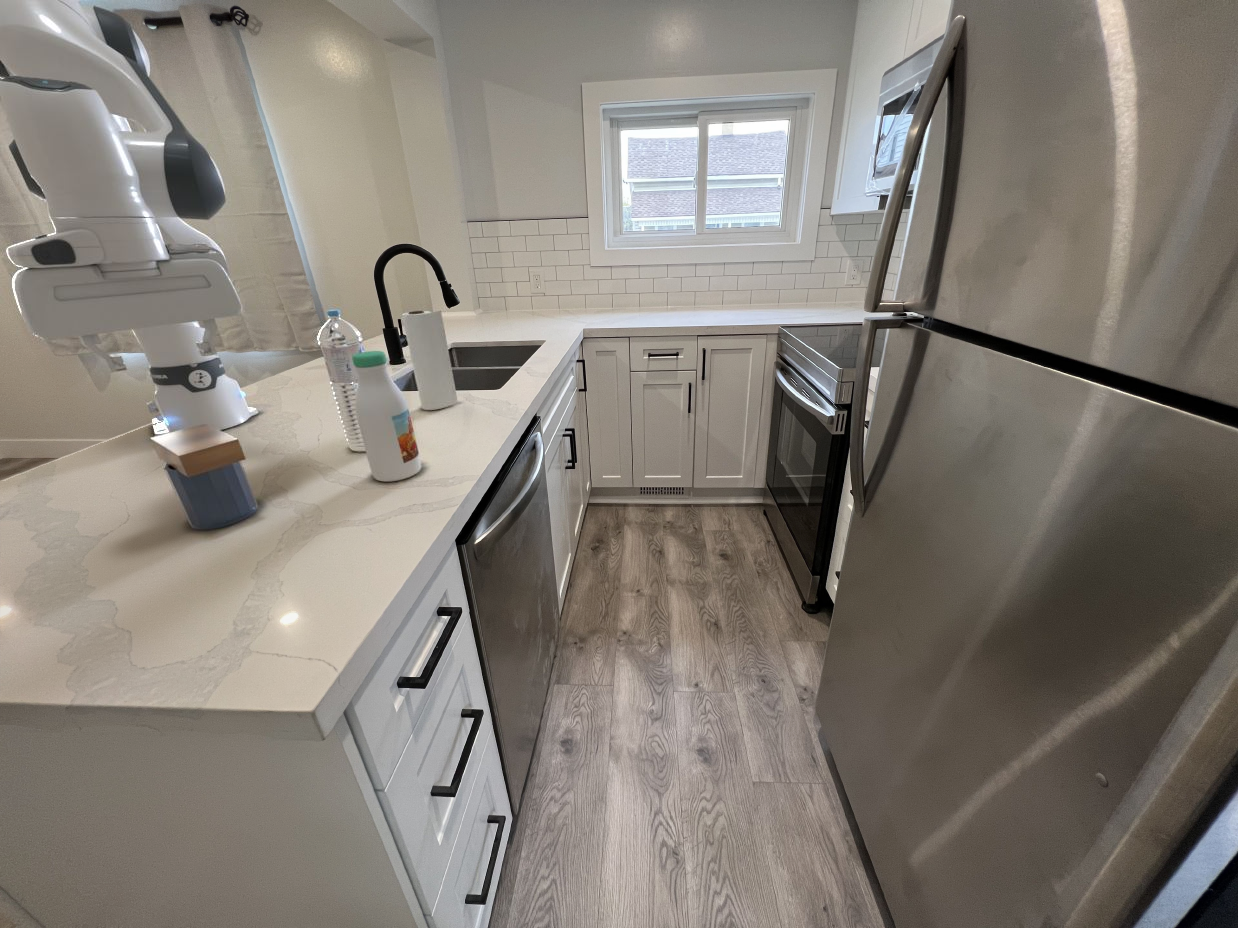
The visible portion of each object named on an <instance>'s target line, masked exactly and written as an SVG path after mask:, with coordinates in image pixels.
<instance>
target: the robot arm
mask: <svg viewBox="0 0 1238 928" xmlns="http://www.w3.org/2000/svg"><path fill="white" fill-rule="evenodd" d="M150 74H151V63H150V58H149V55H148V52H147V49H146V48H145V45H144V44H143V42H142V40H141V39H140V37H139V36H138V34H137V33H136V32H135V31H134V29H133V27H132V26H131V24H130V23H129V22H128V21H127V20H126V19H125V18H124V17H123V16H122V15H120V14H118V13H116V12H114V11H111V10H109V9H106V8H102V7H99V6H97V5H93V7H92V6H91V7H90V6H87V5H83V4H80V2H79V1H78V0H0V100H1V104H2V106H3V110H4V113H5V117H6V120H7V123H8V125H9V126H8V127H9V128H10V131H11V134H12V137H13V140H12V141H11V143H10V144H9V145H8V149H9V152H10V153H11V155H12V157H13V159H14V162H15V163H16V165H17V168H18V170H19V172H20V174H21V176H22V178H23V181H24V183H25V185H26V187H27V189H28V191H29V192H30V194H32V196H34V197H36V198H38V199H39V200H42V201H44V202H45V203H46V204H47V213H48V214H47V215H48V216H49V219H50V221H51V222H52V225H53V228H54V232H53V233H50V234H40V235H37V236H34V237H33V239H29V240H25V241H22V242H19V243H16V244H12V245H10V246H8V247H7V248H6V254H7V257H8V259H9V260H10V261H11V263H12V264H13V265H14V266H16V267H19V268H21V269H19V270H18V271H16V272H15V274H14V275H13V277H12V281H11V286H12V291H13V294H14V298H15V301H16V304H17V306H18V310H19V312H20V315H21V317H22V319H23V322H24V324H25V325H26V328H27V330H28V331H29V332H30V333H31V334H32V335H33V336H35V337H37V338H40V339H42V340H45V341H46V340H47V341H54V340H62V339H70V338H78V340H79V341H80V343H81V345H83V346H84V347H86V348H87V349H89V350H90V351H91V352H93V353H94V354H95V355H97V356H98V357H100V358H101V359H102V360H103V363H104V365H105V367H106V369H107V370H108V372H109V373H117V372H123V371H128V369H127V366H126V364H124V359H123V357H122V356H121V355H120V354H109V353H107V352H106V351H105V350H103V349H102V348H100V347H99V346H98V345H101V344H102V341H101V339H100V336H99V335H100V334H108V333H116V332H125V331H132V333H133V335H134V336H135V338H136V339H137V342H138V344H139V345H140V347H141V349H142V351H143V354H144V355H145V358H146V360H147V362H148V364H149V366H148V371H149V375H150V378H151V379H152V382H153V383H154V384H155V390H154V396H153V400H151V401H149V402H147V403H146V406H147V408H148V410H149V412H150V413H149V414H156V413H159V414H156V415H155V416H156V417H155V418H152V420H151V424H152V427H153V431H154V436H155V437H156V436H159V435H163V434H167V433H171V432H175V431H179V430H183V429H187V428H191V427H195V426H199V425H203V424H207V425H209V426H211V427H213V428H215V429H218V430H220V431H223V430H226V429H229V428H233V427H235V426H238V425H240V424H242V423H244V422H246V421H248V420H249V419H250V418H251V417H253V416H255V415H257V414H259V411H258V409H257V408H256V407H249V405H248V403H247V401H246V399H245V397H246V393H245V392H244V391H242V390H241V387H240V385H239V383H238V381H237V380H235V379H234V378H231V377H229V376H228V375H226V374H225V373H226V369H225V367H224V363H223V361H222V360H221V358H220V356H218V352H217V349H216V346H215V344H214V342H215V338H216V335H217V333H218V329H219V327H218V324H217V321H216V320H217V319H224V318H234V317H239V316H240V315H241V313H242V310H243V304H242V301H241V299H240V297H239V294H238V292H237V290H236V288H235V286H234V284H233V282H232V280H231V279H230V277H229V275H230V267H229V264H228V263H227V262H228V261H227V259H226V257H225V254H224V252H223V251H222V249H221V247H220V246H219V245H218V244H217V243H216V242H215V241H214V240H213V238H211V237H209V236H208V235H206V234H204V233H202V232H201V231H199V230H197V229H195V228H194V227H193V226H191V225H190V224H188V223H186V222H185V221H184V220H185V219H186V220H187V219H188V220H202V221H209V220H211V219H212V218H213V217H214V216H215V215H217V214H218V213H219V212H220V210H221V209H222V208H223V207H224V205H225V204H226V202H227V199H226V189H225V184H224V180H223V176H222V174H221V172H220V169H219V168H218V166H217V164H216V163H215V161H214V160H213V158H212V157H211V155H210V154H209V152H208V151H207V149H206V148H205V147H204V146H203V144H202V143H200V142H199V141H198V140H197V139H196V138H195V137H194V136H193V135H192V134H191V132H190V131H189V130H188V129H187V127H186V125H185V124H184V122H182V120H181V119H180V117H179V116H178V114H177V113H176V112H175V110H174V109H173V108H172V106H171V105H170V103H169V102H168V100H167V99H166V98H165V97H164V95H163V93H162V92H161V91H160V90H159V88H158V87H157V86H156V84H155V83H154V82H153V80H152V79H151V78H150ZM127 119H128V120H130V121H131V122H134V123H136V124H138V125H140V126H141V128H142V129H143V130H144V131H133V130H132V129H131V127H130V124H129V122H128V120H127ZM182 219H184V220H182ZM161 421H163V422H161ZM158 422H161V423H158ZM155 423H157V424H156V425H153V424H155Z"/></svg>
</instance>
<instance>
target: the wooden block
mask: <svg viewBox="0 0 1238 928" xmlns="http://www.w3.org/2000/svg"><path fill="white" fill-rule="evenodd" d="M149 440H150V442H151V444H152V446H153V449H154V451H155V453H156V455H157V458H158V459H160V460H161V461H163V462H164V463H165V464H169V465H170V466H172V467H173V468H175V469H176V470H178V471H179V472H181V473H182V474H184V475H185V476H187V477H191V476H194V475H198V474H201V473H204V472H207V471H210V470H214V469H217V468H220V467H223V466H226V465H230V464H233V463H236V462H239V461H241V462H242V461H246V460H247V457H246V456H245V452H244V451H243V448H242V445H241V443H240V441H239V440H240V439H238V438H237V437H234V436H233V435H230V434H229V433H226V432H224V431H223V430H218V429H215V428H213V427H211V426H209V425H207V424H203V425H199V426H195V427H191V428H187V429H183V430H179V431H175V432H171V433H167V434H163V435H159V436H156V435H155V436H151V437H149Z"/></svg>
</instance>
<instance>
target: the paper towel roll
mask: <svg viewBox="0 0 1238 928" xmlns="http://www.w3.org/2000/svg"><path fill="white" fill-rule="evenodd" d="M401 318H402V322H403V327H404V332H405V336H406V342H407V346H408V351H409V355H410V360H411V364H412V370H413V374H414V377H415V384H416V388H417V392H418V396H419V401H420V405H421V409H422V410H424V411H425V410H426V411H435V410H441V409H444V408H447V407H451V405H453V404H457V403H458V402H459V400H458V396H457V391H456V385H455V379H454V373H453V368H452V363H451V357H450V351H449V346H448V342H447V336H446V329H445V325H444V324H445V323H444V319H443V313H442V311H441V310H436V311H430V310H415V311H408V312H404V313H401Z"/></svg>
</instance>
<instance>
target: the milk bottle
mask: <svg viewBox="0 0 1238 928" xmlns="http://www.w3.org/2000/svg"><path fill="white" fill-rule="evenodd" d="M352 360H353V364H354V366H355V370H357V372H358V388H357V393H356V398H355V410H356V416H357V420H358V424H359V428H360V432H361V436H362V440H363V443H364V447H365V451H366V452H365V454H366V457H367V460H368V465H369V468H370V471H371V475H372V477H373V478H374V480H377V481H380V482H396V481H397V482H398V481H402V480H405V479H408V478H411V477H412V476H413V477H414V475H416V474H418V473H419V472H420V471H421V468H422V460H421V457H420V452H419V448H418V442H417V438H416V435H415V429H414V426H413V422H412V418H411V413H410V410H409V406H408V403H407V400H406V398H405V396H404V394H403V392H402V390H401V389H400V388H399V386H397V384H396V383H395V382H394V380H393V379H392V377H391V375H390V373H389V371H388V366H389V364H388V362H387V356H386V353H385V352H384V351H381V350H370V351H369V350H368V351H365V352H361V353H357V354H355V355H353V356H352Z"/></svg>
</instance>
